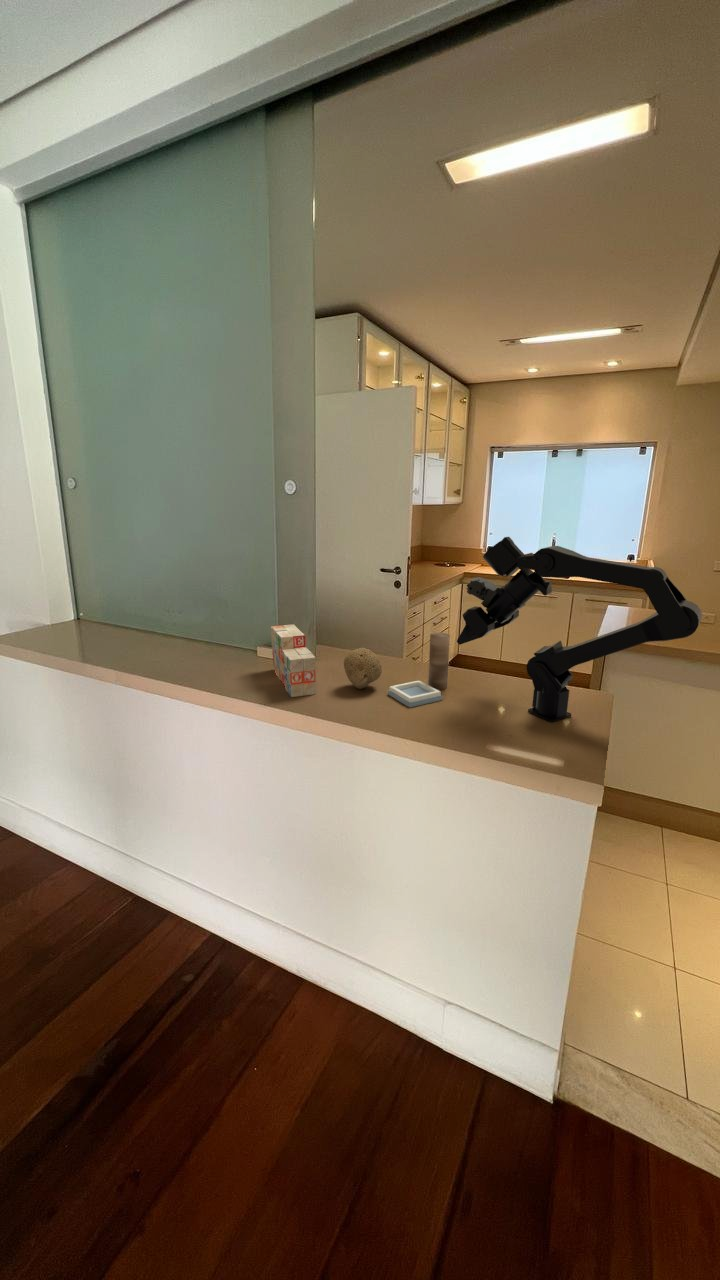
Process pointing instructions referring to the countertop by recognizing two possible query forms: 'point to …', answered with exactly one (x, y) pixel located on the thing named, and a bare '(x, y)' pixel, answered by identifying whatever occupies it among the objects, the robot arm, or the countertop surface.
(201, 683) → the countertop surface
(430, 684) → the walnut column
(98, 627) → the countertop surface
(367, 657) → the natural sponge
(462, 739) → the countertop surface
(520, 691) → the countertop surface
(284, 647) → the stack of blocks
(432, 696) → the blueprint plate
